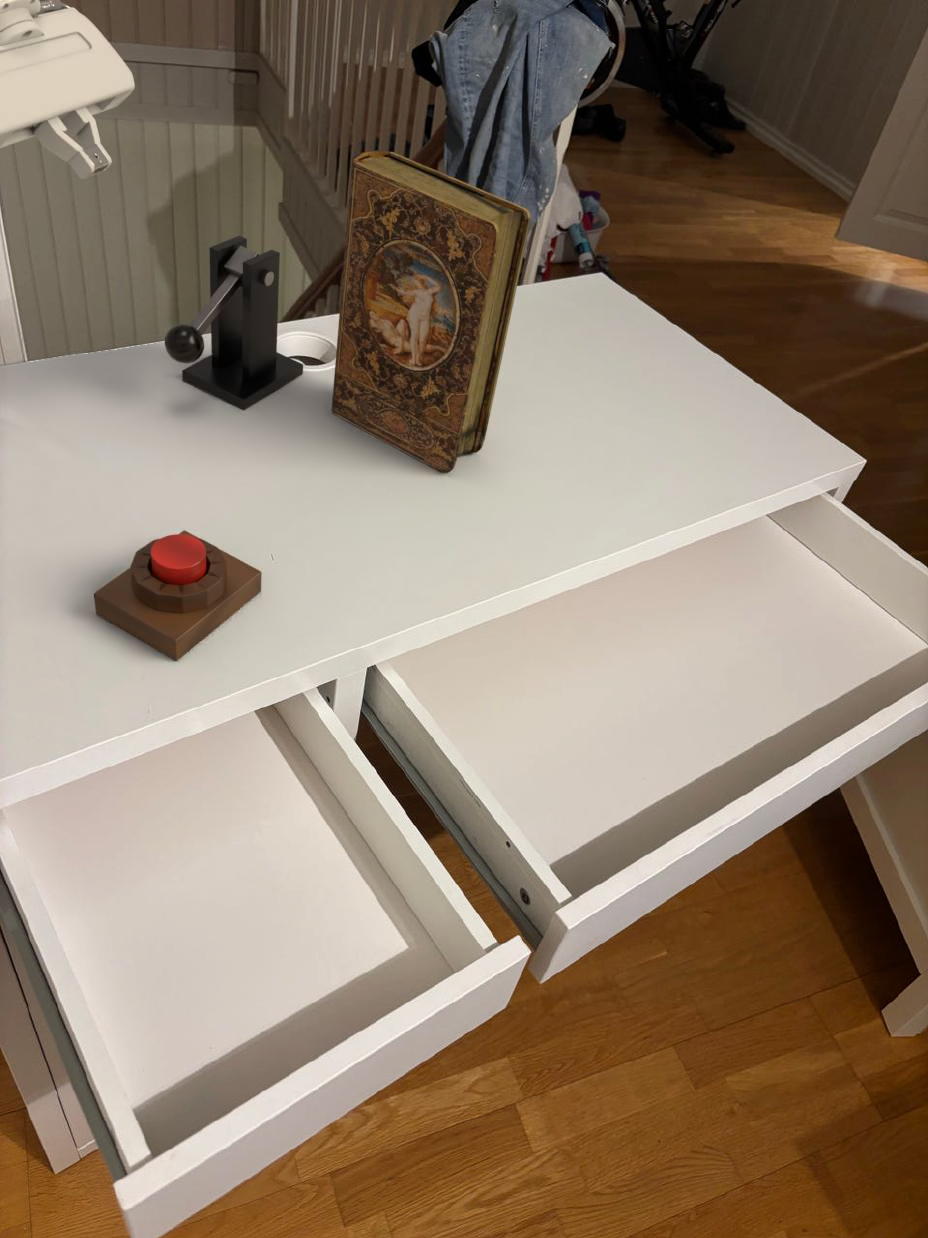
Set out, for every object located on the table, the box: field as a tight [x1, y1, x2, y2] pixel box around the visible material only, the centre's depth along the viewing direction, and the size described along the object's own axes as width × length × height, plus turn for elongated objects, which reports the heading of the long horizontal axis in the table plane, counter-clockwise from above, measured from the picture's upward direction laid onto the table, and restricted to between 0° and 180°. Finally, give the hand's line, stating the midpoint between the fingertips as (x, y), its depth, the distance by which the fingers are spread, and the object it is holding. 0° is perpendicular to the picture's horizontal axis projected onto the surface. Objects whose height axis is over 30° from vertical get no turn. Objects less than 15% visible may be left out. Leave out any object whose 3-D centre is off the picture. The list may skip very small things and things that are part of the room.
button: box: [151, 533, 206, 585], centre depth 72 cm, size 4×4×2 cm
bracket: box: [181, 235, 304, 411], centre depth 95 cm, size 10×8×14 cm
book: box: [331, 150, 531, 474], centre depth 89 cm, size 16×6×25 cm, turn 56°
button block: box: [92, 529, 263, 661], centre depth 74 cm, size 10×8×4 cm
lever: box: [164, 246, 260, 364], centre depth 90 cm, size 13×4×4 cm, turn 150°
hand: (98, 171), depth 82 cm, fingers closed
